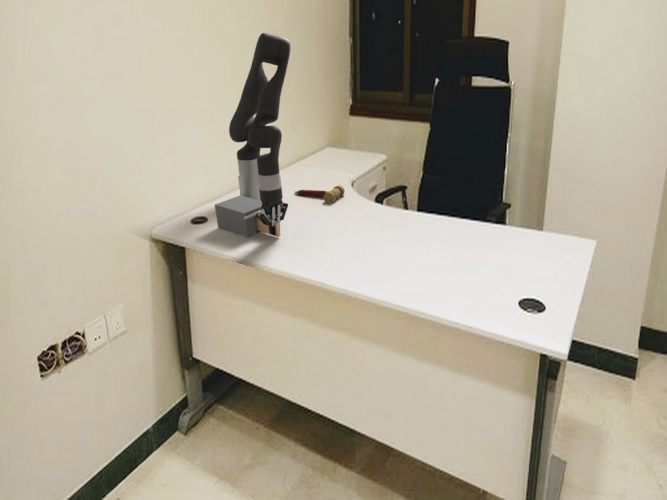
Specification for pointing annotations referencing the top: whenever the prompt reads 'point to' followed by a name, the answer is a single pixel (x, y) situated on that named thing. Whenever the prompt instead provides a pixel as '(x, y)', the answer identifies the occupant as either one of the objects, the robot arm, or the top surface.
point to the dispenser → (238, 215)
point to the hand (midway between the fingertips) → (275, 234)
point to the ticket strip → (266, 227)
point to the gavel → (324, 193)
